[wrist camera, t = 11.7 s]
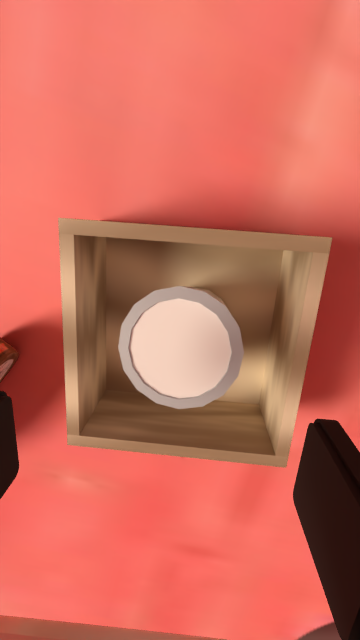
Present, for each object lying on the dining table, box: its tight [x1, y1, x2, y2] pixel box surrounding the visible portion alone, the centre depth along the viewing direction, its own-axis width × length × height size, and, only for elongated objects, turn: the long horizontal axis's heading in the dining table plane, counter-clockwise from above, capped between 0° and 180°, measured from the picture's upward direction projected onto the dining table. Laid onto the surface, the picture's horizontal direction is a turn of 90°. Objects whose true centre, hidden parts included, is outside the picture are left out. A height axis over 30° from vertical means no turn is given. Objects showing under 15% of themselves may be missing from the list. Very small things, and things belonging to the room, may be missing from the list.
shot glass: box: [118, 286, 244, 409], centre depth 20 cm, size 7×7×7 cm
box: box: [58, 218, 332, 467], centre depth 22 cm, size 14×14×7 cm
